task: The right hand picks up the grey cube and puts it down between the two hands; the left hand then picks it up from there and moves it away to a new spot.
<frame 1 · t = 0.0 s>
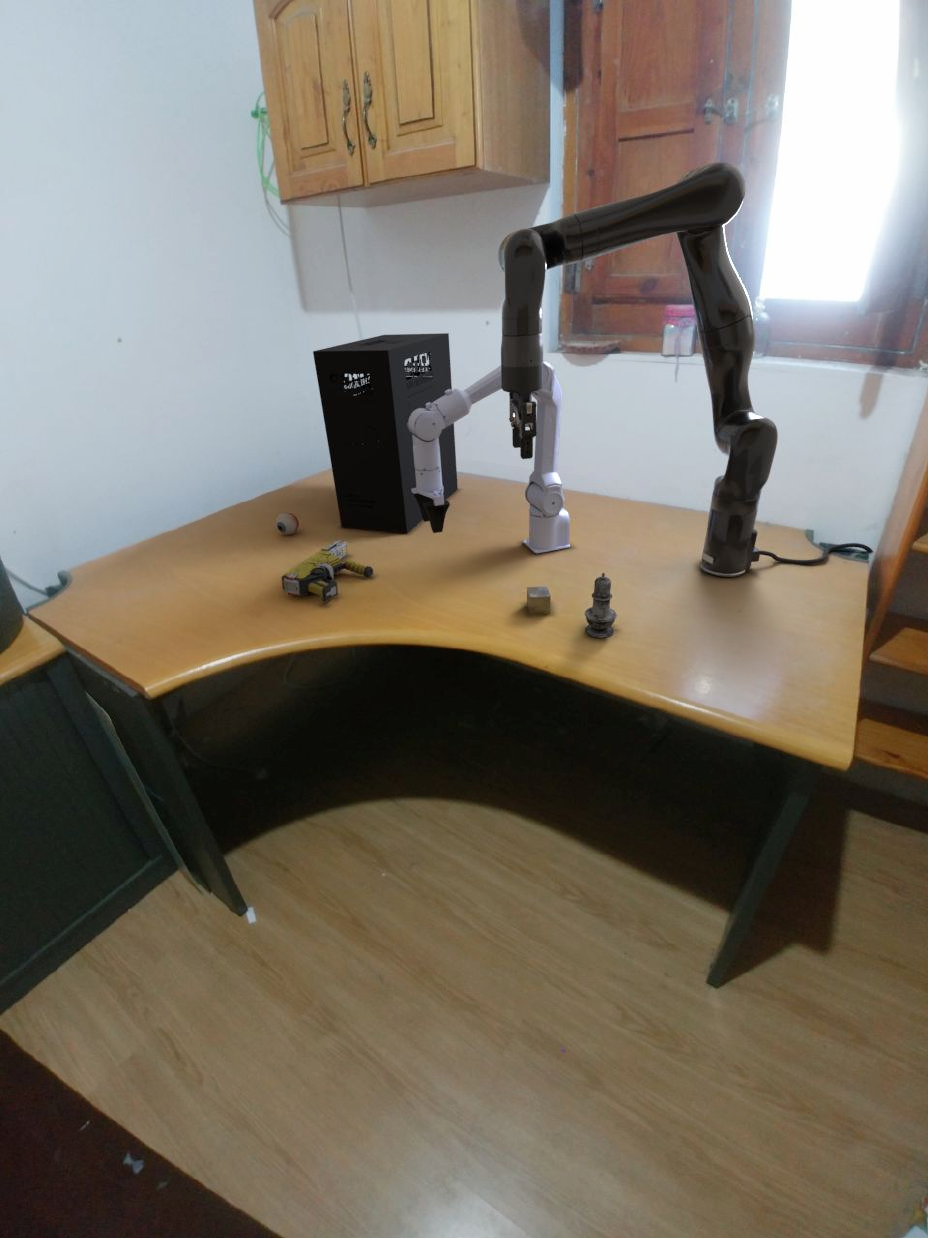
left hand: (432, 526, 137), 10 cm above the table, tool pointing down, fingers open, 7 cm apart
right hand: (522, 452, 116), 29 cm above the table, tool pointing down, fingers open, 8 cm apart
grey stone finial: (599, 631, 114), on the table
eyeball: (289, 534, 165), on the table
grey cube: (538, 609, 122), on the table
cardboard box: (403, 507, 180), on the table
toy gun: (338, 579, 139), on the table
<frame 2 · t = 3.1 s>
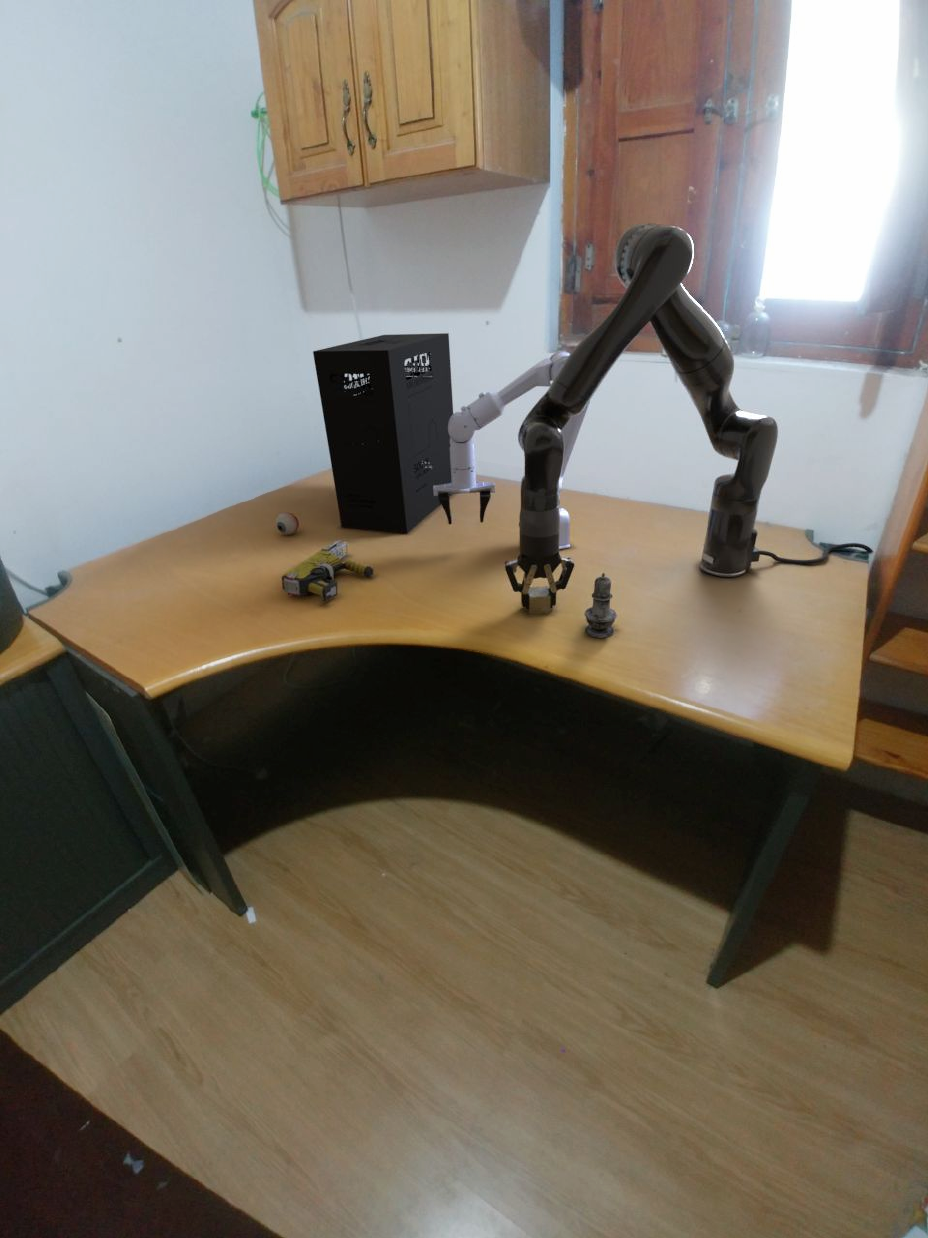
left hand: (465, 521, 147), 7 cm above the table, tool pointing down, fingers open, 7 cm apart
right hand: (538, 607, 122), 0 cm above the table, tool pointing down, fingers closed on grey cube, 4 cm apart
grey cube: (538, 609, 122), on the table, touching right hand
everything else where it was.
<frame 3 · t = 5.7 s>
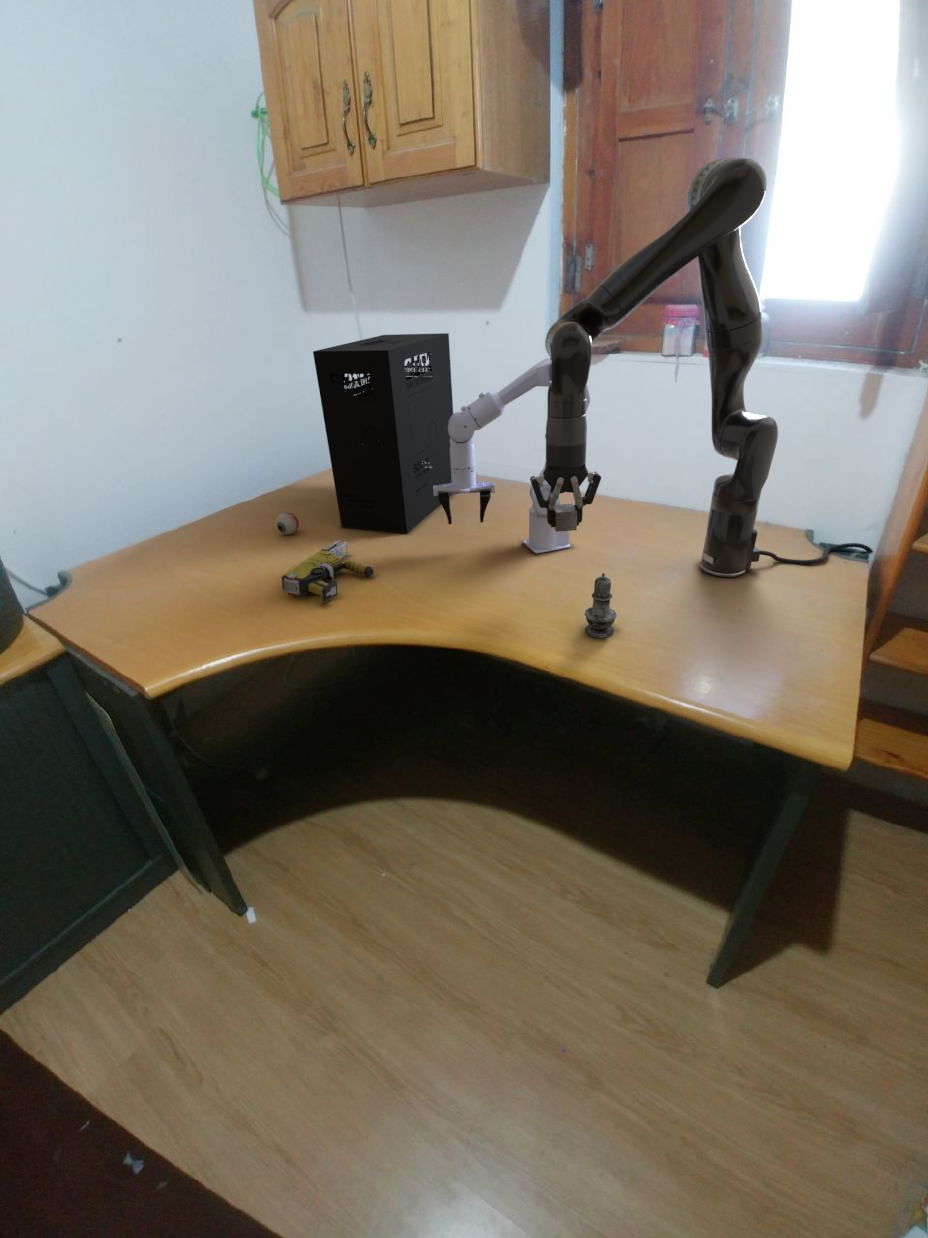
left hand: (465, 521, 147), 7 cm above the table, tool pointing down, fingers open, 7 cm apart
right hand: (564, 524, 121), 15 cm above the table, tool pointing down, fingers closed on grey cube, 4 cm apart
grey cube: (564, 526, 121), point 14 cm above the table, touching right hand
everything else where it was.
when the right hand's fingers open (1 cm above the table, at t = 8.8 s): grey cube stays where it is, on the table.
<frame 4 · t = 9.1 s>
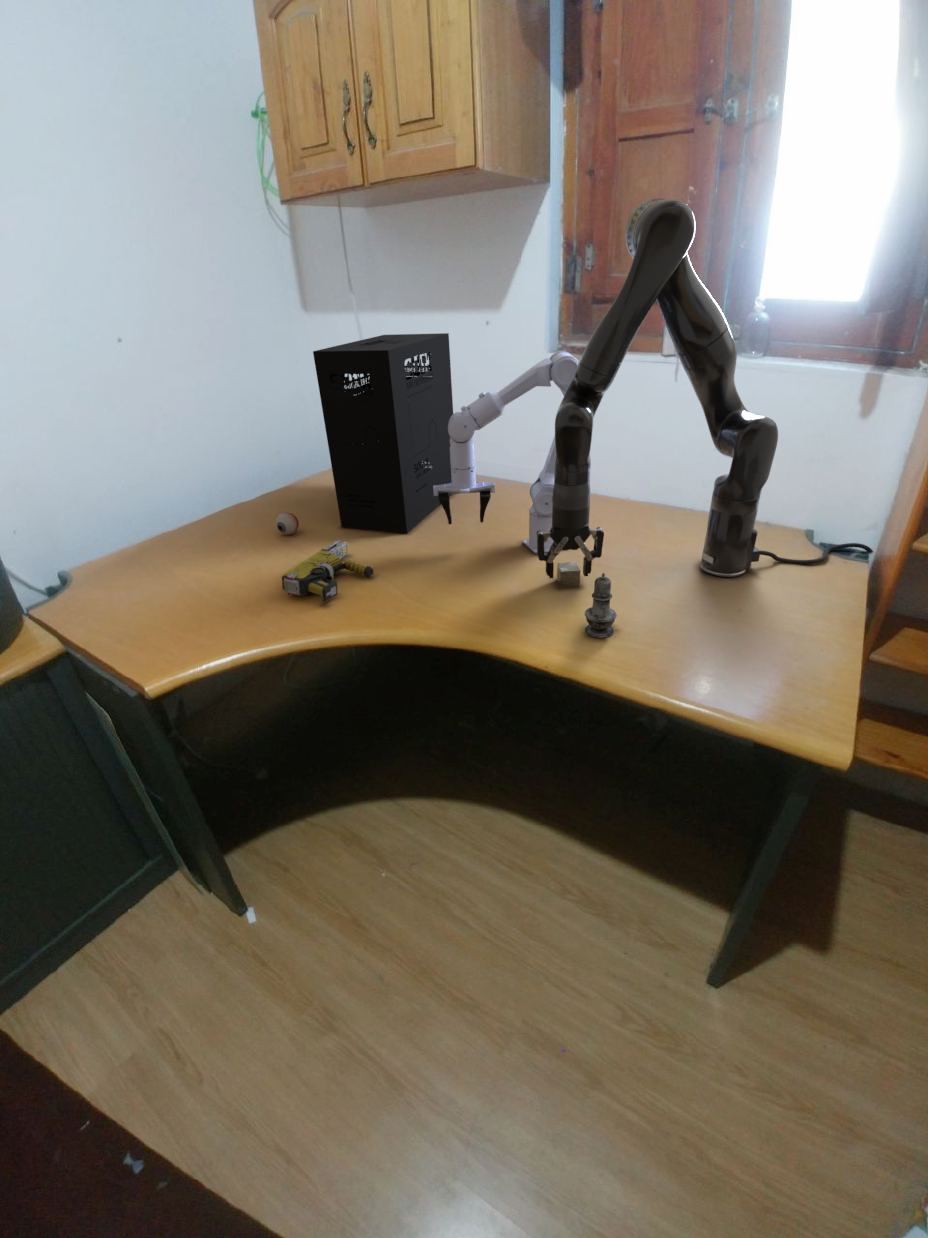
left hand: (465, 521, 147), 7 cm above the table, tool pointing down, fingers open, 7 cm apart
right hand: (568, 575, 130), 2 cm above the table, tool pointing down, fingers open, 7 cm apart
grey cube: (568, 583, 131), on the table
everything else where it was.
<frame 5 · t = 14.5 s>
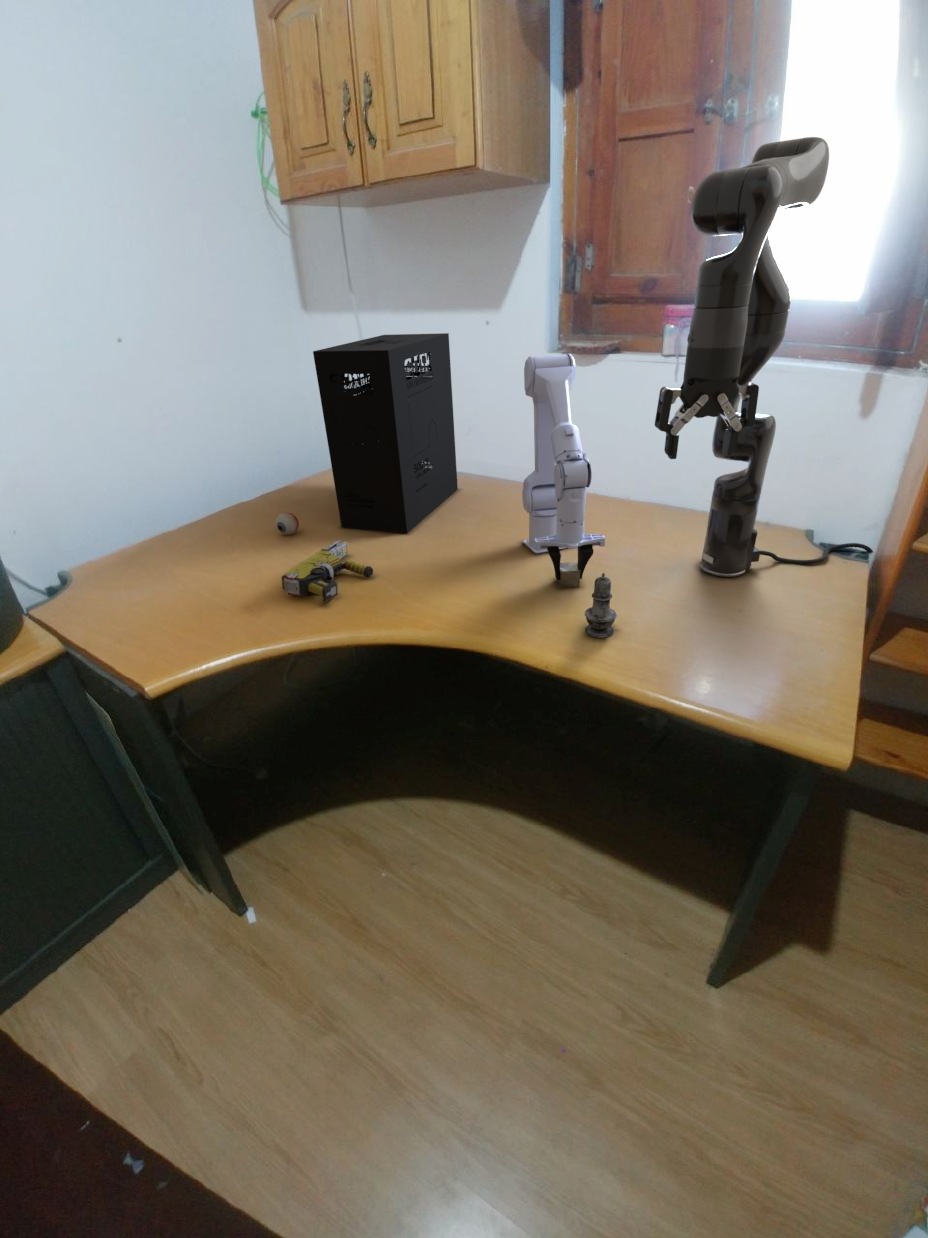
left hand: (568, 577, 131), 1 cm above the table, tool pointing down, fingers closed on grey cube, 4 cm apart
right hand: (699, 456, 94), 33 cm above the table, tool pointing down, fingers open, 8 cm apart
grey cube: (568, 583, 131), on the table, touching left hand
everything else where it was.
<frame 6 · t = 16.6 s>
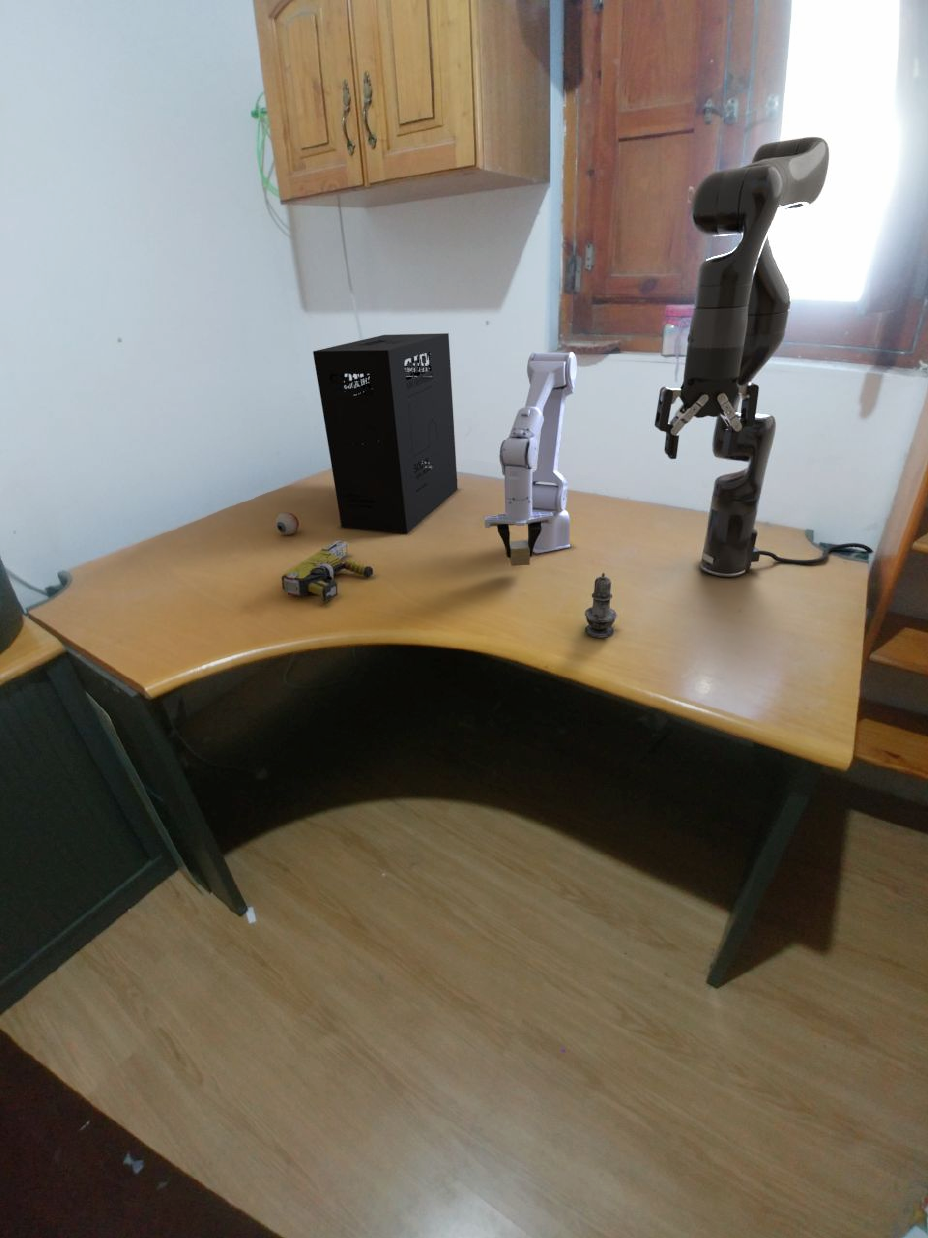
left hand: (518, 555, 133), 5 cm above the table, tool pointing down, fingers closed on grey cube, 4 cm apart
right hand: (699, 456, 94), 33 cm above the table, tool pointing down, fingers open, 8 cm apart
grey cube: (519, 561, 134), point 4 cm above the table, touching left hand
everything else where it was.
when the left hand's fingers open (2 cm above the table, at t = 19.1 s): grey cube stays where it is, on the table.
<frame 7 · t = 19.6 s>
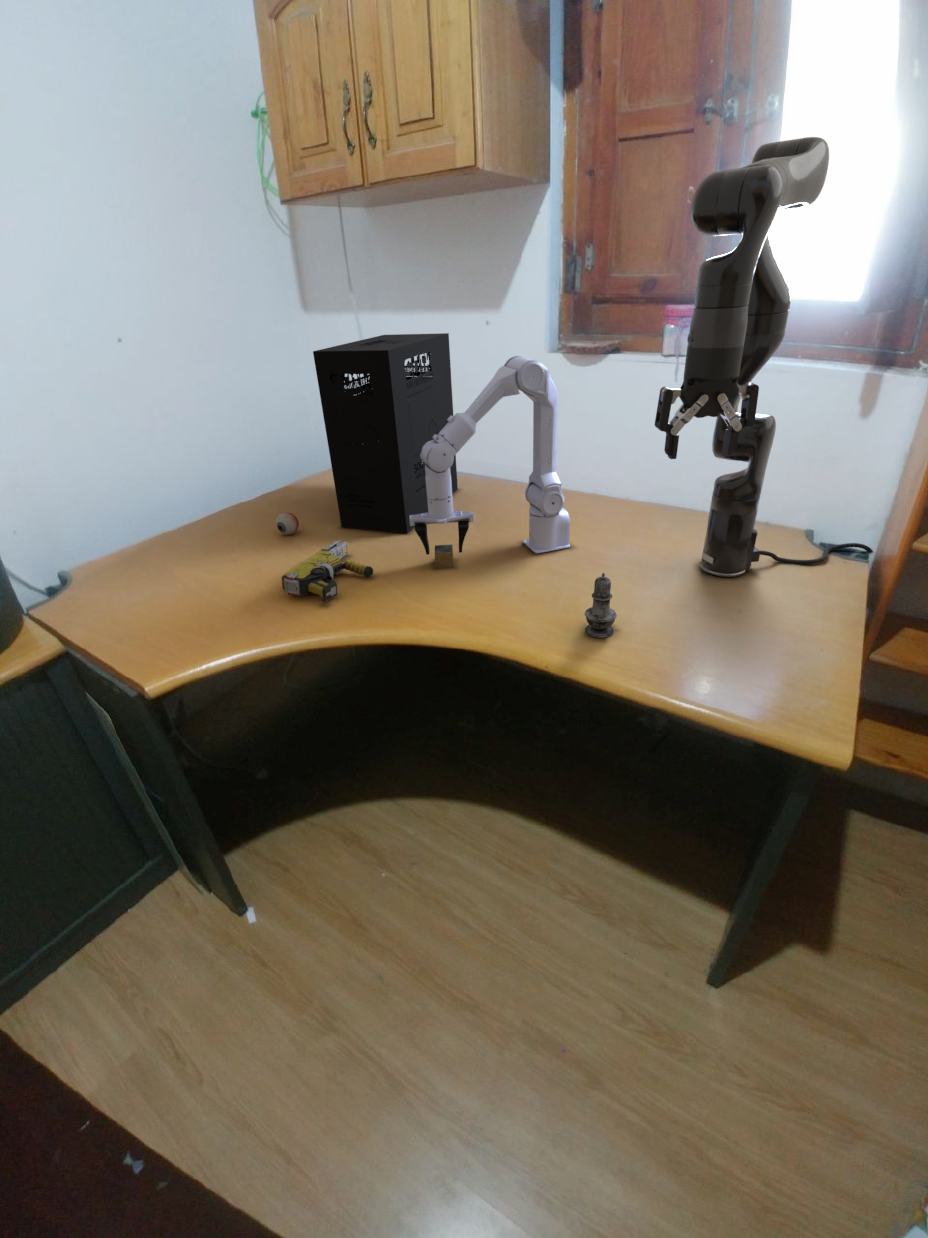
left hand: (444, 551, 142), 3 cm above the table, tool pointing down, fingers open, 7 cm apart
right hand: (699, 456, 94), 33 cm above the table, tool pointing down, fingers open, 8 cm apart
grey cube: (444, 564, 143), on the table
everything else where it was.
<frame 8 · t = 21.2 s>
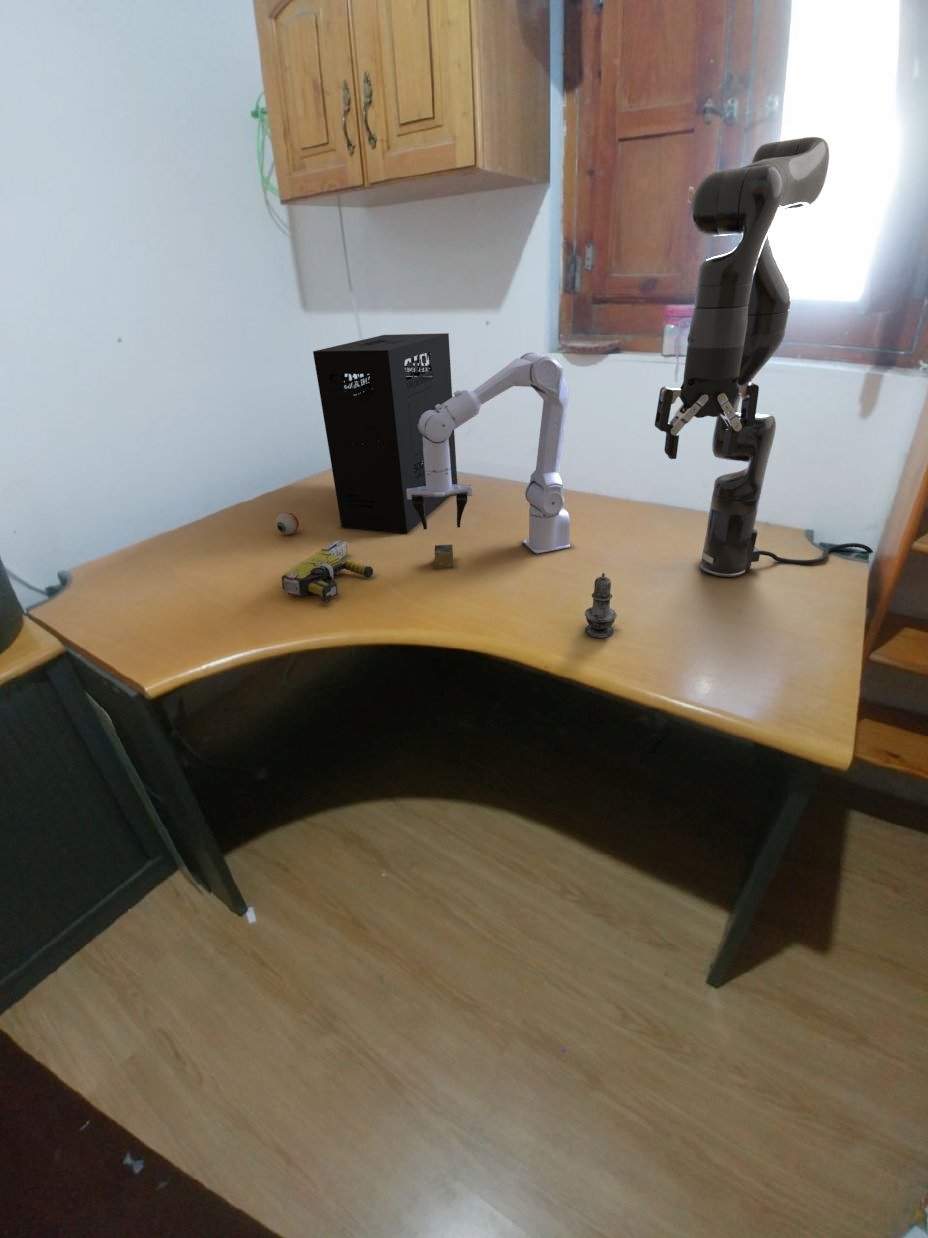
left hand: (442, 526, 139), 9 cm above the table, tool pointing down, fingers open, 7 cm apart
right hand: (699, 456, 94), 33 cm above the table, tool pointing down, fingers open, 8 cm apart
nothing on the table moved.
at the end: grey cube inside the target area (0.1 cm from its centre), on the table; grey cube tilted 0°; the two hands never held the grey cube at the same time; the left hand is holding nothing; the right hand is holding nothing; grey cube at rest at the end (0.0 cm/s) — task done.
